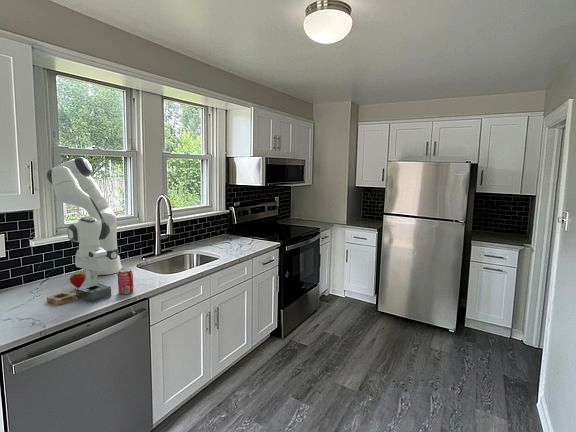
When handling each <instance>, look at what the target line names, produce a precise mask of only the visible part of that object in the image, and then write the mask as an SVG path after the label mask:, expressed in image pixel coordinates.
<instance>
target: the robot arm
mask: <svg viewBox="0 0 576 432" xmlns="http://www.w3.org/2000/svg"><path fill="white" fill-rule="evenodd" d="M92 171H93V168H92V165H91V163H90V162H89V160H88V159H86V158H85V157H81V156H80V157H75V158H74V159H71V160H66V161H64V162H63V163H61V164H58V165H57V166H55V167H51V168H50V169H48V170H47V173H46V179H47V180H48V182H49V183H50V184H51V185H52V186H53V191H54V193H55V196H56V198H57V199H58V200H59V201H61V202H62V203H64V204H67V205H72V206H76V207H79V208H82V209H84V210H85V211H86V213H87V214H88V216H84V217H81V218H79V219H78V221H77V222H74V223H72V224H70V225H69V226H68V227H67V229H66V230H67V231H66V232H67V237H68V239H69V240H70V241H71V242H73V243H79V244H78V248H77V250H76V253H75V255H74V257H75V258H74V264H75V265H74V266H75V267H76V268H81V269H83V273H85V274H84V275H86V269H87V270H91V271H93V276H92V279H94V280H95V279H97V280H98V276H105V275H112V274H116V273H117V274H118V273H119V270H121V269H124V268H123V265H122V263H121V257H120V255H119V248H118V240H117V239H118V238H117V235H118V233H117V232H118V231H117V229H118V227H117V224H118V223H117V215H116V214H115V212H114V210H113V209H112V207H111V206H110V204H109V202H108V201H107V199H106V197H105V196H104V193H103V192H102V191H101V189H100V187H99V186H98V184H97V183H96V180H94V179H93V177H92V176H91V174H92Z"/></svg>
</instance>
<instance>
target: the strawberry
mask: <svg viewBox="0 0 576 432" xmlns="http://www.w3.org/2000/svg"><path fill="white" fill-rule="evenodd" d="M76 271H78V272H74V273H73V274H71V276H70V277H69V282H70V283H71V285H73V286H74V287H75V288H79V287H82V286H83V284H84V282H85V280H86V274H84V271H83V272H81V271H79V270H77V269H76Z"/></svg>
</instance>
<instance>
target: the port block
mask: <svg viewBox="0 0 576 432" xmlns="http://www.w3.org/2000/svg"><path fill="white" fill-rule="evenodd" d="M75 294H76V300H77V299H78V300H81V301H84V302H85V303H86V302H87V303H90V304H93V303H97V302H99V301H102V300H104V299H107V298H110V297H112V287H111V285H110V286H109V285H106V284H101V283H98V282H97V285H95V286H92V287H90V286H87V284H86V285H84V286H83V285H82V286H81V287H79V288H77V287H75Z"/></svg>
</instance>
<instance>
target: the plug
mask: <svg viewBox="0 0 576 432" xmlns="http://www.w3.org/2000/svg"><path fill="white" fill-rule="evenodd" d="M92 276H93V271H91V270H87V269H86V274H85V280H86V285H87V286H90V287H92V286H95V285H97V283H98V278H97V279H95V280H94V279H92Z"/></svg>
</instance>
